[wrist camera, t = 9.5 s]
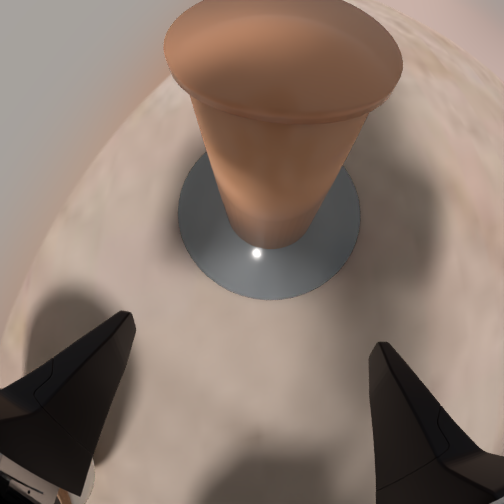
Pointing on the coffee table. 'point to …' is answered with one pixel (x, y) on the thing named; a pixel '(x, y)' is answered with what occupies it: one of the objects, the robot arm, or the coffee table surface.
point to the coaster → (266, 260)
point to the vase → (280, 101)
